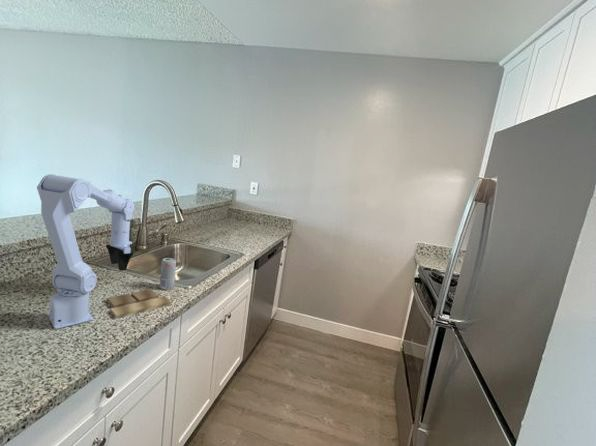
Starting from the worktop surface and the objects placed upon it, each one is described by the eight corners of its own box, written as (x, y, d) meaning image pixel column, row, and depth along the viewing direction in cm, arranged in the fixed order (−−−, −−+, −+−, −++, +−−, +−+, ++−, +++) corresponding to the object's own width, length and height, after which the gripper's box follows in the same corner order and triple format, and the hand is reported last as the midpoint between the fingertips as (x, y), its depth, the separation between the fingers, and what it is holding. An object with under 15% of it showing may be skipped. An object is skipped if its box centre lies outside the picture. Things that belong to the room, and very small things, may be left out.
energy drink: (170, 284, 126) (172, 257, 124) (176, 288, 122) (178, 260, 120) (157, 286, 121) (159, 258, 119) (163, 291, 118) (165, 262, 116)
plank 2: (138, 302, 106) (139, 299, 106) (131, 295, 111) (131, 292, 111) (158, 298, 112) (158, 295, 112) (150, 291, 116) (150, 289, 116)
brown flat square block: (113, 308, 100) (114, 305, 100) (106, 301, 105) (106, 297, 104) (136, 303, 106) (136, 300, 105) (128, 296, 110) (128, 293, 110)
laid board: (116, 318, 95) (116, 315, 95) (109, 310, 99) (109, 307, 99) (170, 304, 109) (171, 301, 109) (163, 298, 113) (163, 295, 112)
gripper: (140, 235, 106) (138, 271, 108) (124, 225, 115) (123, 259, 117) (118, 236, 100) (116, 274, 103) (103, 226, 109) (102, 261, 112)
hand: (118, 266), depth 110 cm, fingers open, 7 cm apart
